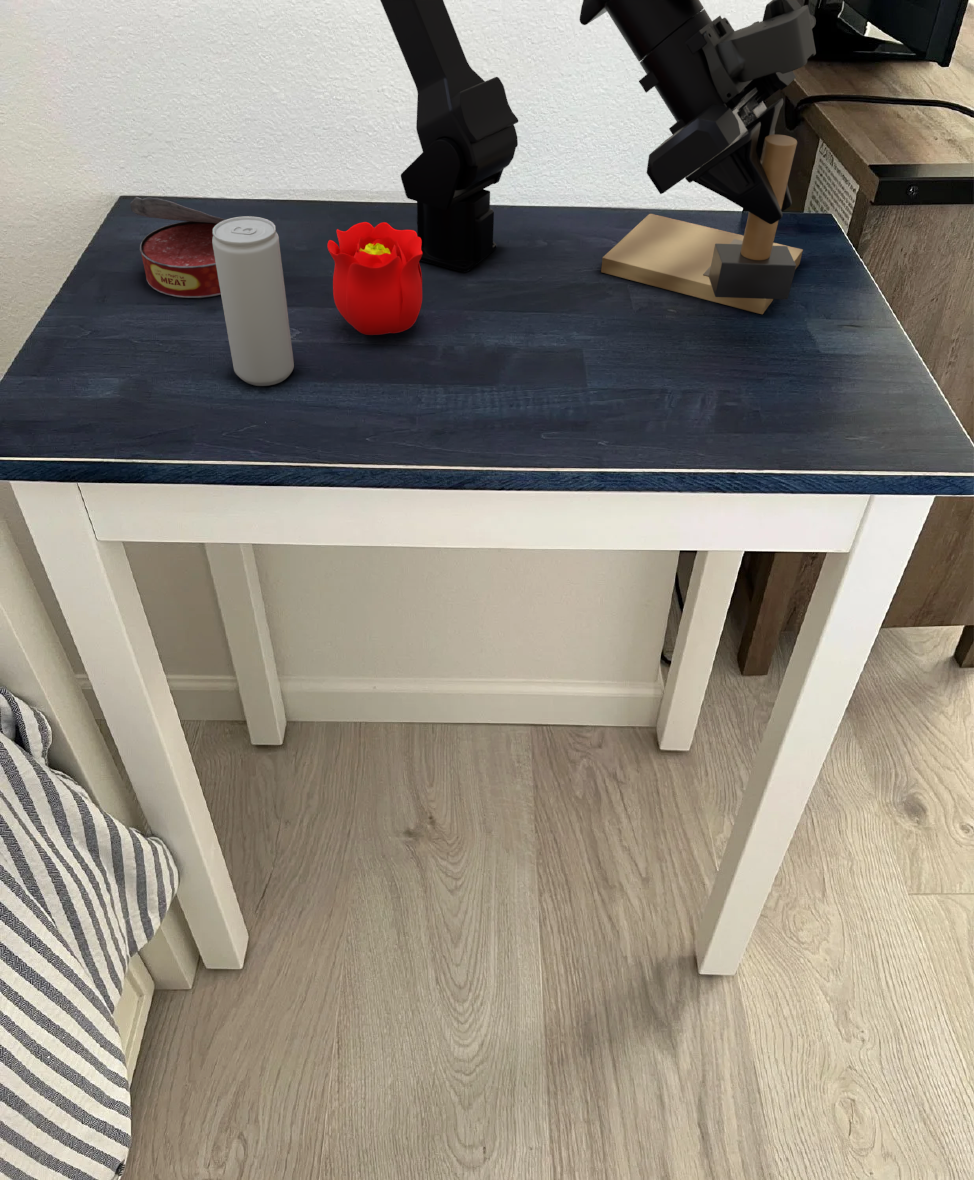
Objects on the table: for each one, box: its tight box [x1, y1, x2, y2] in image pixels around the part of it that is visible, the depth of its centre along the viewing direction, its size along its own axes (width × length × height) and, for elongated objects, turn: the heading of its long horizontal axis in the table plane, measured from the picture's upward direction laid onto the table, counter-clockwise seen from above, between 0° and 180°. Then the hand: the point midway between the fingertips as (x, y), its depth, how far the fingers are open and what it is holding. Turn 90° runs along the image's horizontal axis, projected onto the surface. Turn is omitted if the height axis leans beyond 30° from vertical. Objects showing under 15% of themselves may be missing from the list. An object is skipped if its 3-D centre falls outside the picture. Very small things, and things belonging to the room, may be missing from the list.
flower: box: [327, 221, 423, 336], centre depth 85 cm, size 8×8×8 cm
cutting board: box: [600, 213, 804, 315], centre depth 97 cm, size 16×12×2 cm
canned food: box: [129, 196, 226, 299], centre depth 92 cm, size 11×10×10 cm
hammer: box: [709, 133, 798, 301], centre depth 80 cm, size 6×4×12 cm, turn 89°
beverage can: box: [212, 215, 295, 387], centre depth 78 cm, size 5×5×12 cm
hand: (781, 214), depth 79 cm, fingers closed on hammer, 2 cm apart
